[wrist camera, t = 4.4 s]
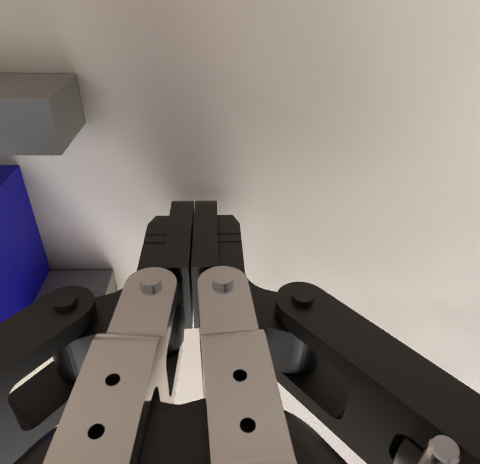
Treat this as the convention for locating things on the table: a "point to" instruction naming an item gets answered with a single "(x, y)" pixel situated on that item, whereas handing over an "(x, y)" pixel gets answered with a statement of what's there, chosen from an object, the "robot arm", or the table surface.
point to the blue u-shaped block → (18, 246)
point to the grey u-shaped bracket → (46, 145)
